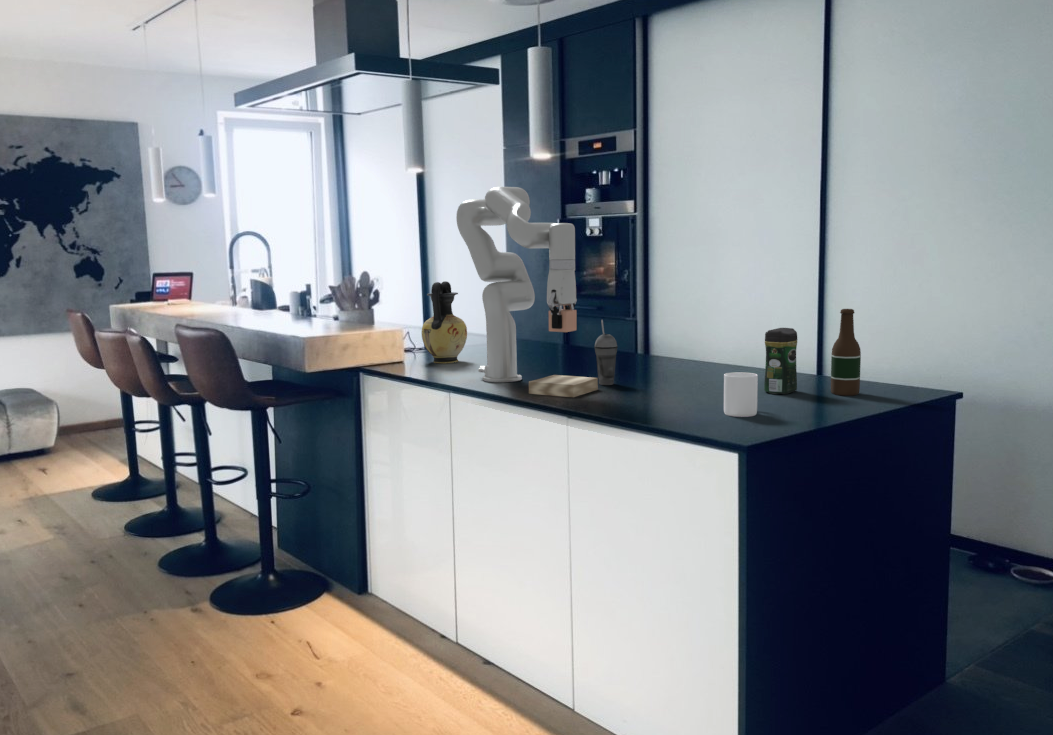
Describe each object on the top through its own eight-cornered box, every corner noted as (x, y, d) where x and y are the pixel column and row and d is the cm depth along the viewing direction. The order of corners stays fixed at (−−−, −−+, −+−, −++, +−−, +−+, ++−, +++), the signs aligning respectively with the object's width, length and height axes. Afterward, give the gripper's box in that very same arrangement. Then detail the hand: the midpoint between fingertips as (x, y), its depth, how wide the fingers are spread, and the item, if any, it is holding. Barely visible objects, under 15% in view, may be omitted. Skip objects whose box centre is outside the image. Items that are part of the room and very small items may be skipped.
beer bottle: (859, 391, 264) (862, 308, 261) (859, 396, 257) (862, 310, 254) (830, 390, 267) (833, 307, 264) (830, 395, 260) (832, 310, 256)
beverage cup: (616, 385, 283) (616, 320, 280) (593, 385, 284) (592, 320, 282) (619, 382, 290) (618, 318, 287) (596, 381, 292) (595, 318, 289)
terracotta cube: (548, 331, 271) (548, 310, 271) (558, 329, 276) (558, 309, 276) (566, 332, 268) (566, 311, 267) (576, 330, 273) (576, 309, 272)
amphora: (427, 359, 355) (425, 280, 351) (471, 358, 354) (469, 280, 350) (418, 365, 338) (415, 283, 334) (463, 365, 336) (461, 282, 332)
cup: (718, 415, 235) (718, 375, 233) (737, 407, 244) (738, 369, 243) (748, 418, 230) (749, 377, 228) (767, 410, 239) (768, 371, 238)
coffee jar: (776, 388, 273) (777, 325, 270) (800, 391, 267) (802, 327, 265) (759, 392, 266) (760, 328, 263) (784, 395, 261) (785, 330, 258)
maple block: (528, 395, 272) (528, 381, 272) (554, 387, 285) (554, 374, 285) (573, 398, 265) (573, 385, 264) (597, 391, 277) (597, 377, 277)
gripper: (565, 264, 279) (565, 324, 281) (535, 266, 264) (536, 329, 267) (587, 264, 275) (587, 325, 278) (558, 267, 260) (559, 330, 263)
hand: (562, 326), depth 272 cm, fingers closed on terracotta cube, 6 cm apart
